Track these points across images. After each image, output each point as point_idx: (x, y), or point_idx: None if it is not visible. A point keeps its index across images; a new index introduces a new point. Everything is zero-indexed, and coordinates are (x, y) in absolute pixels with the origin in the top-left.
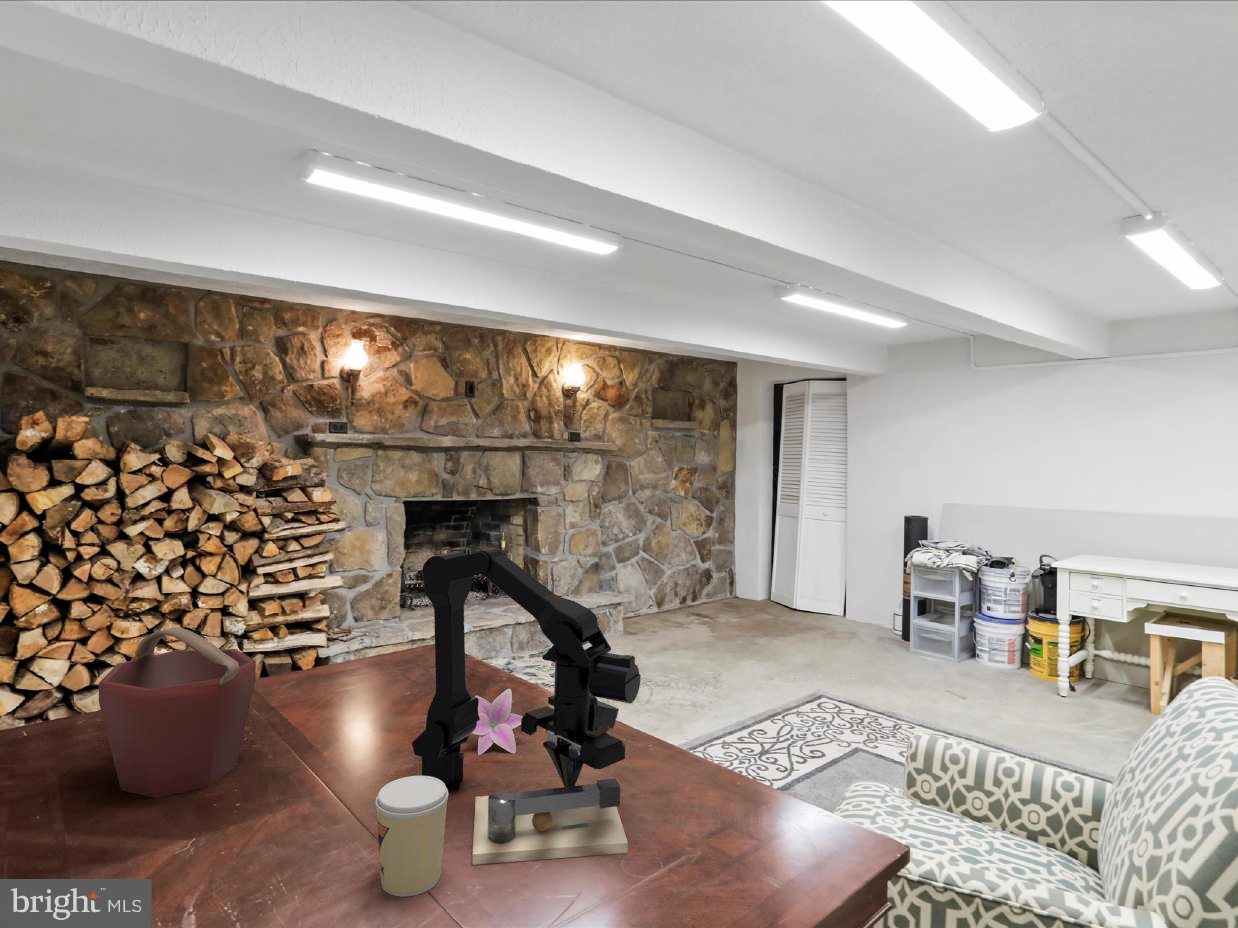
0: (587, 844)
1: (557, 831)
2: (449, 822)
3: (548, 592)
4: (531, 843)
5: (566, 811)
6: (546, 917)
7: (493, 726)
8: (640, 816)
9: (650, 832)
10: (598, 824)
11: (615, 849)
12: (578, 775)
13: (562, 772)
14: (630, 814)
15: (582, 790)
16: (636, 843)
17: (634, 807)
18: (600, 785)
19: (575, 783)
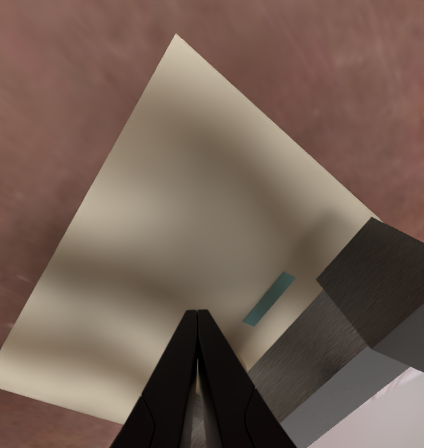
0: None
1: (249, 335)
2: (46, 407)
3: None
4: None
5: (194, 273)
6: (359, 406)
7: None
8: (349, 74)
9: (416, 130)
10: (309, 254)
11: None
12: (238, 360)
13: (190, 437)
14: (313, 92)
15: (345, 406)
16: (400, 201)
17: (299, 34)
18: (414, 362)
19: (218, 326)
